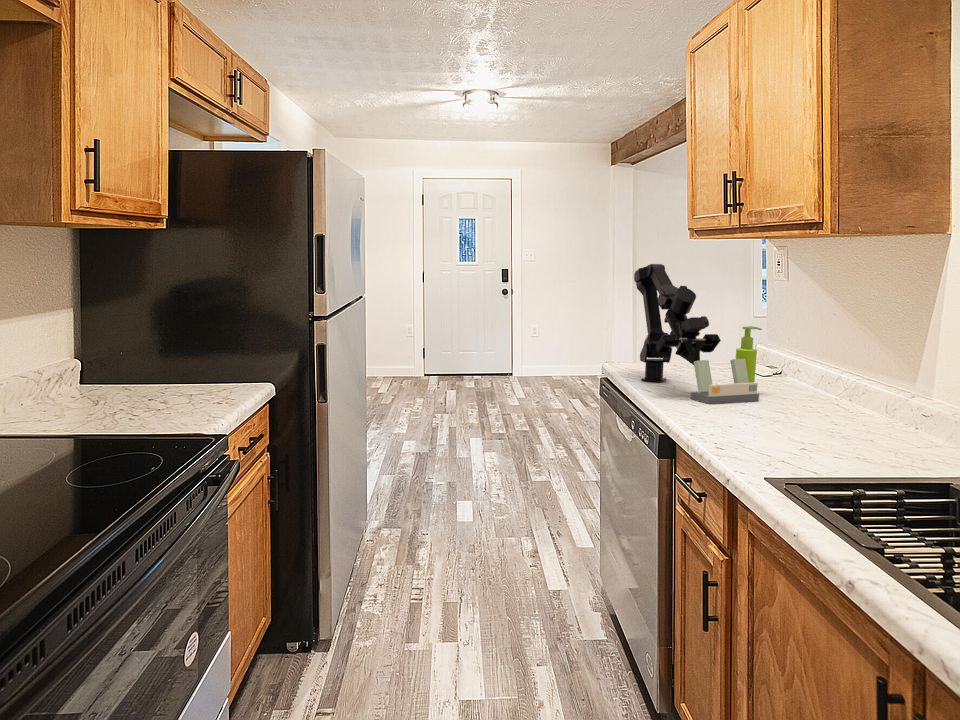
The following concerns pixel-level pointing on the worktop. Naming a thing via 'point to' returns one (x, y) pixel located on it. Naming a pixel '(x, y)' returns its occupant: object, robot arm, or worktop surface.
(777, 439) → the worktop surface
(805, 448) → the worktop surface
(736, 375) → the hold switch
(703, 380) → the flip switch
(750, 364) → the soap dispenser
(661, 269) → the robot arm
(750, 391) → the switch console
